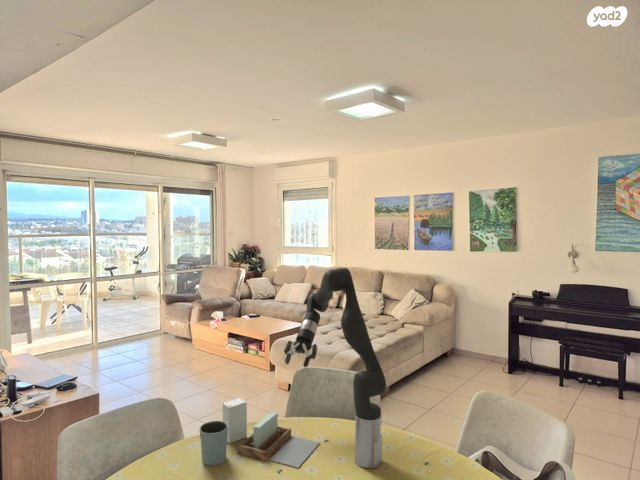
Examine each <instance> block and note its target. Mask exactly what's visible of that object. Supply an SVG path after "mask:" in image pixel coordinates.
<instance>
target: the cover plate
mask: <svg viewBox="0 0 640 480" xmlns="http://www.w3.org/2000/svg"><path fill="white" fill-rule="evenodd" d="M278 415H279V414H278V412H274V411H271V412H270V413H269V414H268V415H266V416H265V417H263V419H261V420H260V421H258V422H257V423H256V424H255V425H253V433H254V443H253V448H256V449H259V446H261V445H262V444H263V443H264V442H265V441H266V440H267V439H268V438H270V437H271V436H272V435H273V434H274V433H275V432H276V431H277V429H278V426H279V425H278V423H279V422H278V420H279V419H278V418H279V417H278Z"/></svg>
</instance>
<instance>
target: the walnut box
mask: <svg viewBox="0 0 640 480" xmlns="http://www.w3.org/2000/svg"><path fill="white" fill-rule="evenodd" d="M290 438H292V428H288V427H284V426H280V425H278V429H277V431H276V432H275V433H274V434H273V435H272V436H271V437H270V438H268V439H267V440H266V441H265V442H264V443H263V444H262V445H261V446H259V449H256V448H253V443H254V432H253V433H252V434H250V435H249V436H247V437H246V439H245V440H243V441H242V442H241V443H240V444H238V448H237V449H238V454H239V455H241V456H246V457H251V458H254V459H257V460H262V461H265V462H266V461H267V460H269V459H270V458H271V457H272V456H273V455H274V454H275V453H276V452H277V451H278V450H279V449H280V448H281V447H282V446H283V445H284V444H285V443H286V442H287V441H288V440H289V439H290Z"/></svg>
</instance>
